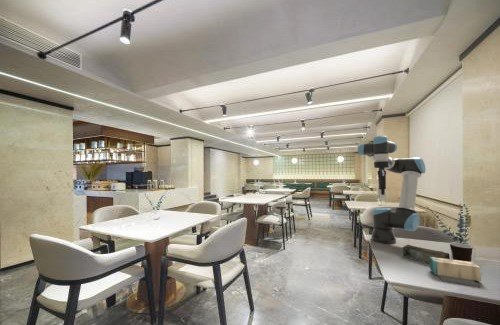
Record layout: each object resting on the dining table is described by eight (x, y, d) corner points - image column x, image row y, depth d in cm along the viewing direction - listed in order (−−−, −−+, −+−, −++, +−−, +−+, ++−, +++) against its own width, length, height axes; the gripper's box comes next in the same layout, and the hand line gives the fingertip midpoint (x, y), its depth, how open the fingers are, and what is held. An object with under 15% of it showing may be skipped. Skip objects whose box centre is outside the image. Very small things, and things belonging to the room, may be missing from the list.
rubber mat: (429, 266, 108) (429, 265, 108) (460, 271, 103) (460, 269, 103) (442, 281, 93) (442, 279, 93) (479, 286, 88) (479, 285, 88)
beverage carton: (407, 254, 126) (407, 243, 126) (451, 265, 110) (450, 252, 111) (402, 257, 121) (402, 245, 122) (447, 269, 106) (446, 255, 106)
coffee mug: (469, 269, 105) (467, 248, 106) (447, 262, 113) (446, 243, 113) (480, 265, 110) (478, 245, 110) (458, 259, 117) (457, 241, 118)
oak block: (429, 256, 104) (472, 262, 97) (430, 269, 104) (473, 275, 97) (434, 261, 99) (480, 267, 92) (434, 274, 98) (481, 281, 92)
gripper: (372, 162, 135) (374, 198, 134) (375, 160, 123) (377, 200, 122) (386, 161, 132) (387, 199, 131) (390, 160, 120) (392, 201, 119)
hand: (382, 200), depth 126 cm, fingers closed
